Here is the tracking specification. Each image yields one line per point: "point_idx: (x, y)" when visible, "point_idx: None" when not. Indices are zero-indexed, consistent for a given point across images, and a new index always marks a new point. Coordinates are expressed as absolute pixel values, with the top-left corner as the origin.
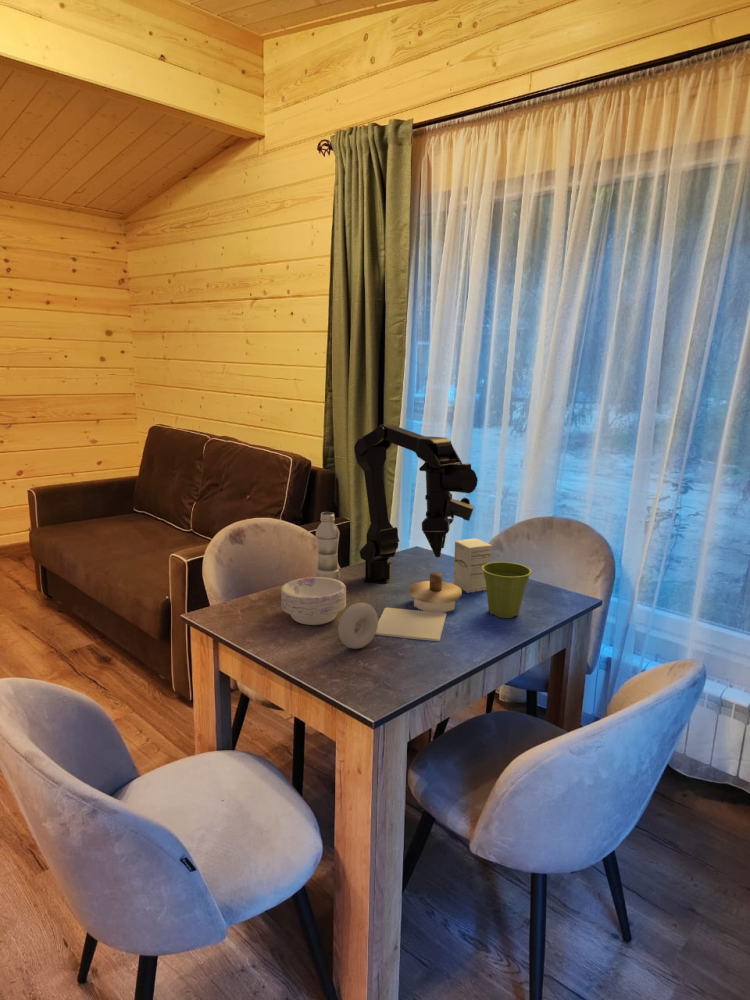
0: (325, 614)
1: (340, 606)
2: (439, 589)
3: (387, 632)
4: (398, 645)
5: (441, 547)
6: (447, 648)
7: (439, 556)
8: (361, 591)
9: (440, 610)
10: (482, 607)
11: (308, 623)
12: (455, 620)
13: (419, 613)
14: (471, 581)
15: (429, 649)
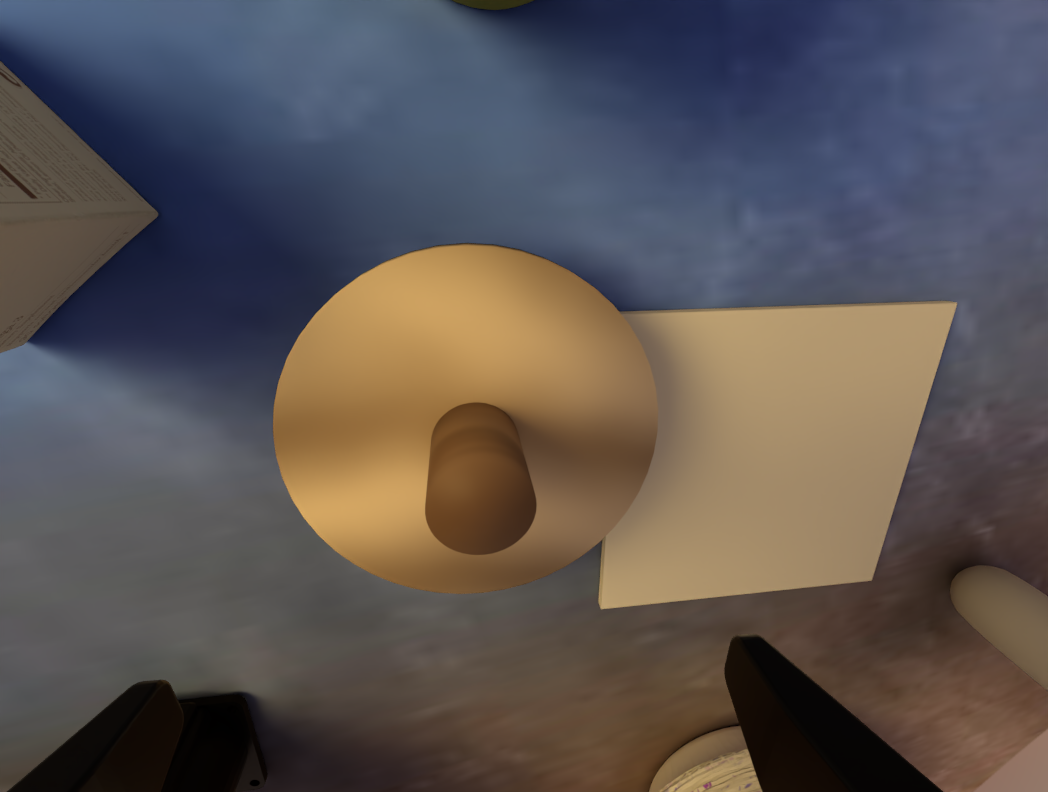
0: None
1: None
2: (506, 418)
3: (872, 530)
4: (966, 461)
5: (908, 779)
6: (1020, 250)
7: (760, 643)
8: (402, 742)
9: None
10: (420, 70)
11: None
12: (682, 249)
13: None
14: (68, 183)
15: (1018, 332)
